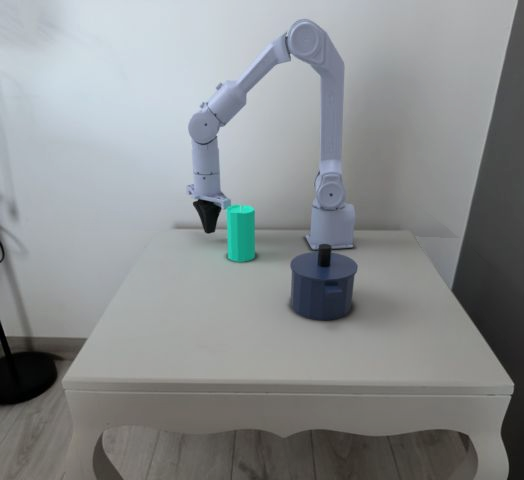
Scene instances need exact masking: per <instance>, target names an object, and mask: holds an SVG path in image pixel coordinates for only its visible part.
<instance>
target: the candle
mask: <svg viewBox="0 0 524 480" xmlns="http://www.w3.org/2000/svg"><path fill="white" fill-rule="evenodd" d="M226 235H227V239H226V240H227V258H228V259H229V260H230V261H233V262H238V263H241V262H242V263H243V262H246V263H247V262H249V261H252V260H254V259H255V258H256V210H255V208H254V207H253V206H252V205H242V201H239V204H237V203H236V204H233V205H232V204H231V206H230V207H228V208H227V209H226Z"/></svg>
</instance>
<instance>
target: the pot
mask: <svg viewBox="0 0 524 480" xmlns="http://www.w3.org/2000/svg"><path fill="white" fill-rule="evenodd" d="M355 276H356V274H355V275H354V276H352V277H351V278H348V279H346V280H342V281H336V282H319V281H312V280H308V279H305V278H302V277H300V276H298V275H296V274H295V273H294V272H293V271H292V270H291V283H290V307H291V309H292V311H294V313H296V314H298V315H299V316H301V317H304V318H306V319H310V320H315V321H316V320H317V321H332V320H337V319H340V318H343V317H345V316H346V315H348V314H349V313H350V311H351V307H352V302H353V294H354V284H355Z"/></svg>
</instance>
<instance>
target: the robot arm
mask: <svg viewBox="0 0 524 480" xmlns="http://www.w3.org/2000/svg"><path fill="white" fill-rule="evenodd" d="M291 55H292V56H293V57H294V58H296V59H298V60H299V61H301V62H303V63H306V64H308V65H309V66H310V67H311V68H312V69H313V70H314V71H315V72H316V73H317V74H318V75H319V76H320V78H319V79H320V81H319V82H320V83H319V84H320V85H319V87H320V88H319V90H320V91H319V154H318V155H319V157H318V171H317V174H316V176H315V178H314V182H313V184H314V189H315V197H314V199H313V200H312V202H311V217H310V218H311V219H310V233H309V234H306V235H305V236H304V237H305V239H306V241H307V243H308V244H309V246H310V248H311V250H314V251H315V250H318V249H319V245H320V244H329V245H331V246H332V250H335V249H336V250H337V249H351V248H352V249H353V248H354V245H353V244H354V232H355V224H356V211H355V207H354V204H352V203H346V202H345V199H346V197H347V190H346V187H345V185H344V183H343V165H342V164H343V163H342V151H343V125H344V124H343V123H344V95H345V94H344V93H345V62H344V60H343V58H342V56H341V55H340V53H339V51H338V49H337V47H336V46H335V44H334V42H333V41H332V40H331V38H330V35H329V33H328V32H327V31H326V30H325V29H324V28H322V27H321V26H320V25H318V23H317V22H315V21H314V20H311V19H309V18H301V19H298V20H296V21H295V22H294V23H293V24H292V25H291V26H290V28H289V30H288V29H286V30H284V31H283V32H282V33H280V34H279V35H278V36H277V37H275V38H274V39H273V40H272V41H270V42H269V43H268V45H267V46H266V47H265V48H264V49H263V50H262V51H261V52H260V54H259V55H258V56H256V57H255V59H254V60H253V61H252V62H251V63H250V64H249V65H248V67H247V68H246V69H245V70H244V71H243V72H242V74H241V75H240V76H239V77H238V78H237V79H235V80H231V79H228V80H227V79H226V80H225V81H224V82H223V83H222V82H221V81H220V82H219V83H218V84H217V85H216V86H215V89H216V91H215V92H213V94H212V95H211V96H210V97H209V98H208V99H207V100H206V101H205V102H204V101H202V102H201V103H200V105H199V108H200V109H199V110H197V111H196V112H195V113H193V115H191V118H189V121H188V123H187V124H188V125H187V130H188V134H189V136H190V138H191V158H192V159H191V160H192V161H191V162H192V175H193V183H192V184H187V185H185V190H186V195H187V196H188V195H189V196H190V198H191V199H193V200H195V201H193V202H192V206H193V207H194V209H195V210H196V212H197V214H198V216H199V219H200V222H201V225H202V228H203V231H204V233H205V234H208V235H210V234H213V233H215V232H216V229H217V224H218V219H219V216H220V214H221V211H222V210H223V211H224V210H225V211H226V210H227V208H228V207H230V206H232V199H231V198H230V197H228V196H227V195H226V194H225V193H224V192H223V191H222V190H221V173H220V172H221V169H220V167H221V166H220V150H219V144H218V143H219V142H218V135H217V134H218V133H219V131H220V128H224V127H225V126H227V124H229V122H230V121H232V119H234V117H235V116H236V115H237V114H238V113H239V112H240V111H242V109H243V108H244V107H245V106H246V105H247V94H248V93H249V92H250V91H251V90H252V89H254V87H255V86H256V85H257V84H258V83H259V82H260V81H261V80H262V79H263V78H265V76H266V75H267V74H269V73H270V71H271V70H273V69H274V67H275V66H277V65H280V64H284V63H288V62H291V61H292V56H291Z"/></svg>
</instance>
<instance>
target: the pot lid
mask: <svg viewBox="0 0 524 480" xmlns="http://www.w3.org/2000/svg"><path fill="white" fill-rule="evenodd" d="M317 250H318V251H310V252H304V253H301V254H298V255H296V256H295V257H293V258H292V259H291V260H290V263H289V264H290V267H289V268H290V271H291V272H292V271H293V272H294V273H295V274H296V275H298V276H300V277H302V278H305V279H308V280H312V281H319V282H336V281H342V280H346V279H348V278H351V277H352V276H354V275H355V276H356V274H357V273H358V268H359V267H358V264H357V262H356V261H355V260H354V259H353V258H351V257H350V256H347V255H344V254H341V253H338V252H332V250H333V249H332V246H331V245H329V244H320V245H319V249H317Z"/></svg>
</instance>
